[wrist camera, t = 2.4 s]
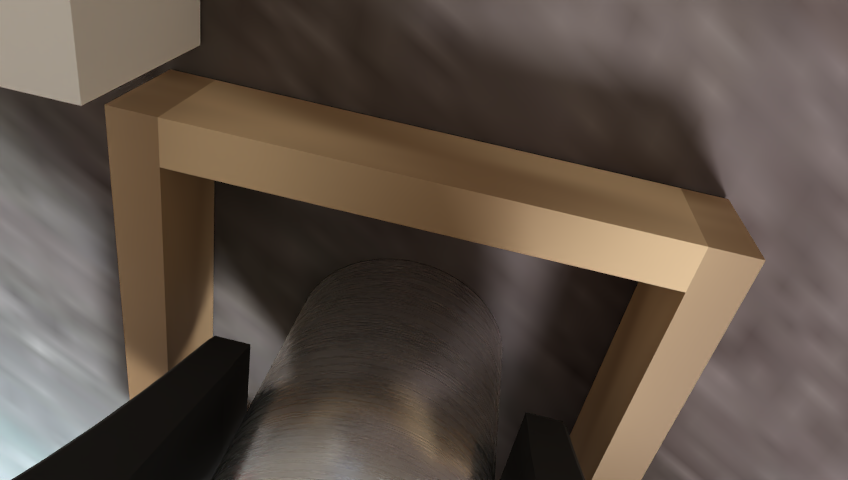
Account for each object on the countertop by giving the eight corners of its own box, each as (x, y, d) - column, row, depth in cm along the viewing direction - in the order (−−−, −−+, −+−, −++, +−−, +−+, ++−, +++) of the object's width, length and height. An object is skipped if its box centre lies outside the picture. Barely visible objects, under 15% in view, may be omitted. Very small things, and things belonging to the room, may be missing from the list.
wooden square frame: (180, 445, 15) (139, 512, 13) (170, 69, 10) (105, 104, 8) (558, 540, 14) (560, 620, 13) (727, 199, 10) (765, 260, 8)
